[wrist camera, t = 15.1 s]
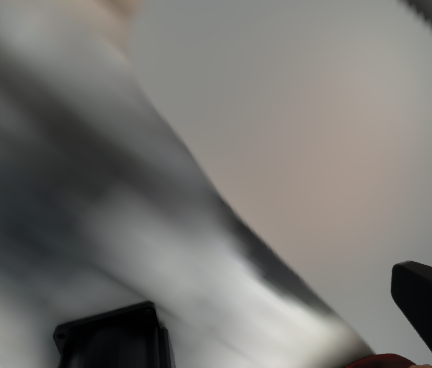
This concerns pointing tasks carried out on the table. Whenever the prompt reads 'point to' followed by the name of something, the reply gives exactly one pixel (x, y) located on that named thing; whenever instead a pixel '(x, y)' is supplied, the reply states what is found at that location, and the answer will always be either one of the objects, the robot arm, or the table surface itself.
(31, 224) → the table surface
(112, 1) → the table surface
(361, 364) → the decorative planter
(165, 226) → the table surface
